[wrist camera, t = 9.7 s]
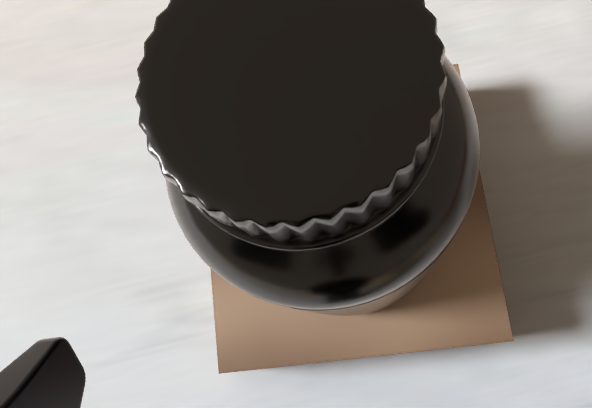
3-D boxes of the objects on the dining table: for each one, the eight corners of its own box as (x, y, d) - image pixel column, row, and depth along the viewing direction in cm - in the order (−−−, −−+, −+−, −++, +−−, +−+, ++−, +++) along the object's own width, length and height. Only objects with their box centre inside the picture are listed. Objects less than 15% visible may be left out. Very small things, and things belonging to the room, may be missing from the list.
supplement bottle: (409, 106, 20) (450, -184, 9) (467, 288, 19) (612, 233, 7) (232, 157, 21) (46, -50, 9) (273, 338, 19) (109, 361, 8)
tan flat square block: (497, 339, 20) (513, 340, 18) (237, 368, 22) (218, 373, 19) (449, 91, 23) (458, 63, 20) (216, 130, 24) (198, 108, 22)
